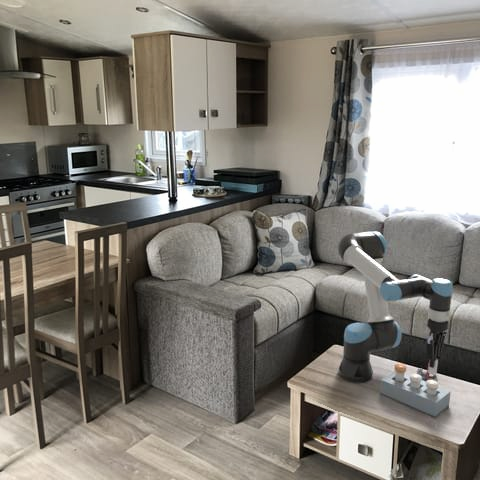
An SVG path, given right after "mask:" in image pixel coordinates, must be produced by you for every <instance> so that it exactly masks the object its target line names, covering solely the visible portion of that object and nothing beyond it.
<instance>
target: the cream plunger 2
mask: <svg viewBox="0 0 480 480" xmlns="http://www.w3.org/2000/svg"><path fill="white" fill-rule="evenodd" d="M439 384H440V383H439V381H438V382H437V381H434V380H427V381H426V387H427V394H429V395H432V396H434V397H435V396H436V392H437V389H438V387H439Z"/></svg>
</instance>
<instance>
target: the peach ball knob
mask: <svg viewBox="0 0 480 480" xmlns="http://www.w3.org/2000/svg"><path fill="white" fill-rule="evenodd" d="M394 371H396V373H395V381H397V382H400V383H403V382H404V375H405V374H406V372H407V365H406V364H403V363H395V364H394Z"/></svg>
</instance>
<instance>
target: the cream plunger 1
mask: <svg viewBox="0 0 480 480" xmlns="http://www.w3.org/2000/svg"><path fill="white" fill-rule="evenodd" d="M409 375H410V381H411V385H410V387H412V388H414V389H417V390H419V389H420V382H421V381H422V376H421V375H419V374H415V373H411V374H409Z"/></svg>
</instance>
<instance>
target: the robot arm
mask: <svg viewBox="0 0 480 480" xmlns="http://www.w3.org/2000/svg"><path fill="white" fill-rule="evenodd" d="M387 250H388V242H387V241H386V238H385V237H384V235H383V234H382V233H381V232H379V231H365V232H356V233H355V232H353V233H348V234H346V235H344V236H342V237H341V239H340V240H339V242H338V245H337V253H338V257H340V259H341V260H343V262H344V263H346V264H347V265H352V266H353V267H354V268H355V269H356V270H357V271H359V272H360V273H361V274H362V275H363V280H364V286H365V287H364V288H365V293H366V298H367V307H368V312H369V318H368V320H367V322H354V323H350V324H348V325H347V326H346V327H345V330H344V334H343V352H342V353H343V356H342V359H341V362H340V365H339V367H338V376H339V377H340V378H342V379H343V380H344V381H347V382H351V383H356V384H360V383H361V384H363V383H368V382H370V381H371V380H372V379H373V376H374V370H373V369H372V368H373V367H372V364H371V353H374V352H379V351H384V350H390V349H393V348H396V347H398V345H400V343H401V341H402V335H403V334H402V329H401V327H400V325H399V324H398V322H396V321H395V320H394V319H395V318H394V317H393V316H391V315H390V311H389V304H388V302H396V301H403V300H408V299H412V298H421V297H422V298H424V299H425V300H428V301H429V306H428V315H427V325H426V326H427V328H428V329H429V330H430V332H429V337H428V338H426V339H425V343H426V359H427V360H429V362H428V364H429V370H428V369H427V370H428V373H430V374H429V375H431V376H433V375H436V376H437V372H438V371H437V370H438V364H439V360H441V358H442V357H441V356H442V355H443V349H444V344H445V341H446V337H447V333H448V332H447V330H448V329H449V319H450V316H451V313H450V312H451V306H452V297H453V296H452V295H453V286H454V285H453V282H452V281H451V280H449V279H444V278H443V277H442V278H441V277H440V278H439V277H437V278H433V279H430V278H428V277H426V276H425V275H420V274H412V275H411V276H409V278H407V279H399V278H398V277H396V276H395V275H393V274H392V273H391V272H390V271H389V270H387V269H386V268H385V267H384V266H382V262H383V260H384V259H385V258H384V255H385V254H386V253H387Z"/></svg>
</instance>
